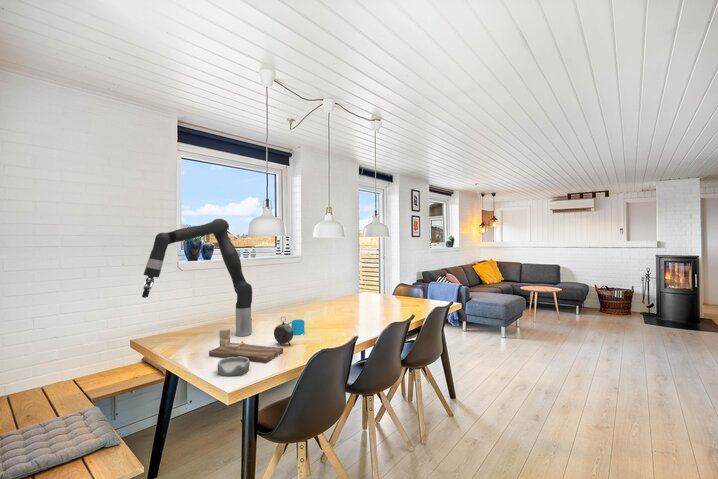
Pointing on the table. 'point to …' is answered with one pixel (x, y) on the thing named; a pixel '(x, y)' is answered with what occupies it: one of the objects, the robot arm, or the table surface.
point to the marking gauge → (228, 341)
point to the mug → (297, 327)
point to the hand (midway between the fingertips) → (144, 297)
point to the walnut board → (249, 353)
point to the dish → (233, 366)
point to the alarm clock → (283, 333)
